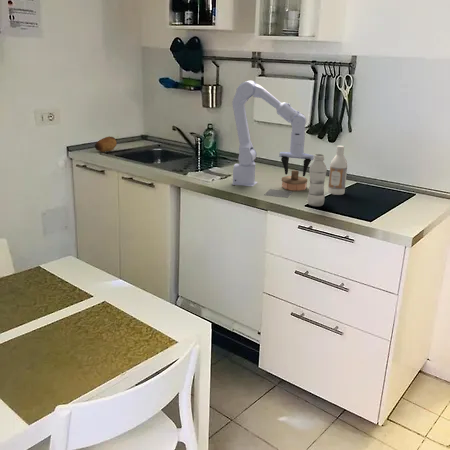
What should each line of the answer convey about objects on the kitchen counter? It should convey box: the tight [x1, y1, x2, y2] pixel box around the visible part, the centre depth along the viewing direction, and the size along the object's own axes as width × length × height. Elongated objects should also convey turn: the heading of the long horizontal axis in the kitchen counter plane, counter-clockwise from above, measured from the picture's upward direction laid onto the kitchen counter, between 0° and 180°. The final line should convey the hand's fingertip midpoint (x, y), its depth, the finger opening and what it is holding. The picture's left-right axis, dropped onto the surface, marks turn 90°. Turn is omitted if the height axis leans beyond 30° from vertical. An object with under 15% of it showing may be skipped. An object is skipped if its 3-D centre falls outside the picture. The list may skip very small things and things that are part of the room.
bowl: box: [281, 180, 308, 192], centre depth 227 cm, size 10×10×4 cm
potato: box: [94, 135, 117, 153], centre depth 290 cm, size 8×13×8 cm
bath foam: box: [327, 145, 348, 196], centre depth 219 cm, size 7×7×20 cm
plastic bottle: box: [306, 153, 328, 207], centre depth 201 cm, size 6×7×20 cm
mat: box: [264, 188, 293, 199], centre depth 218 cm, size 10×10×1 cm
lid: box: [281, 169, 308, 184], centre depth 225 cm, size 11×11×4 cm
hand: (295, 174), depth 226 cm, fingers open, 7 cm apart
